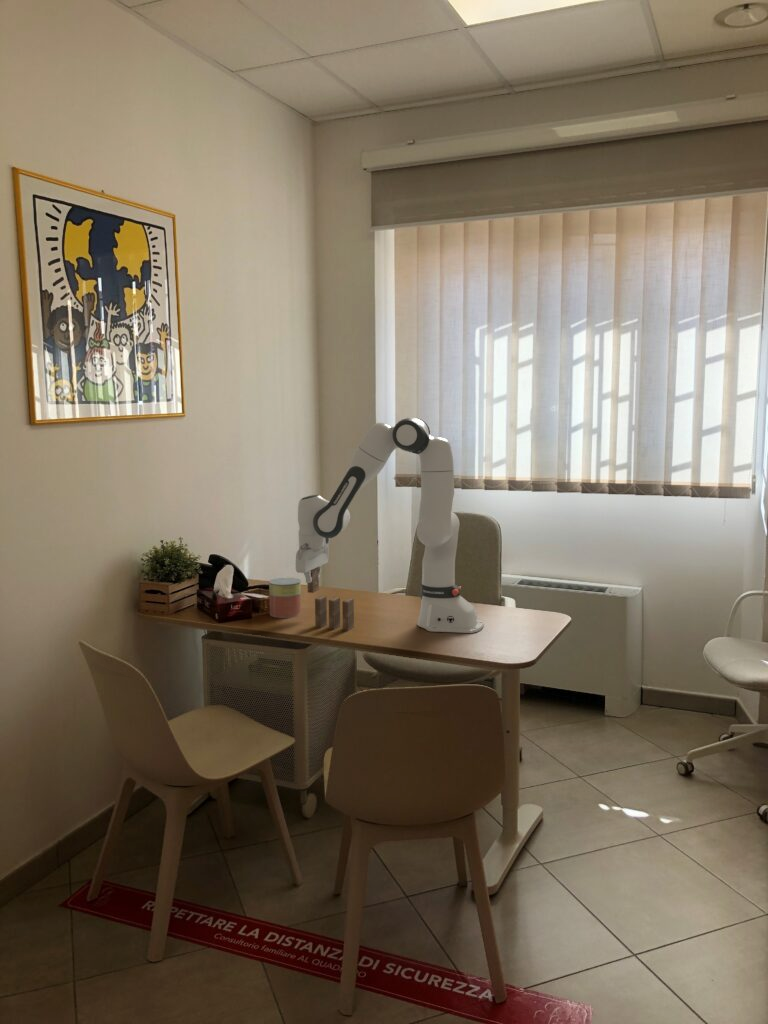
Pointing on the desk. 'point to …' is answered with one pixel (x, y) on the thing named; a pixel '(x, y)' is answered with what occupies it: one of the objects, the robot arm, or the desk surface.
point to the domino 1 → (313, 581)
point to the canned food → (285, 597)
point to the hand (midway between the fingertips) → (313, 580)
